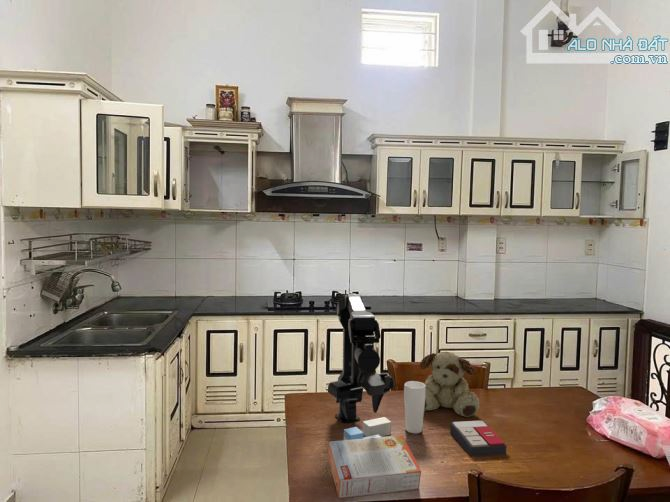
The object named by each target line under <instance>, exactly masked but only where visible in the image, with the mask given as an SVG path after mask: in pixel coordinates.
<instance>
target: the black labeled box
mask: <svg viewBox="0 0 670 502" xmlns="http://www.w3.org/2000/svg"><path fill="white" fill-rule="evenodd" d="M449 433H450V434H451V436H452V437H453V438H454V439H456V441H457V442H458V443H459V444H460V445H461V446H462V448H463V449H464V450H465V452H467V454H468V455H469V456H470V457H478V456H479V457H483V456H484V457H485V456H497V455H498V456H499V455H507V444H506V443H505V442H504V441H503V440H502V438H500V436H499V435H497V433H496V432H494V431H493V429H492V428H491V427H489V425H488V424H487V423H485V422H484V421H483V420H468V421H453V422H451V423H450V431H449Z"/></svg>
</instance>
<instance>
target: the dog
mask: <svg viewBox="0 0 670 502" xmlns="http://www.w3.org/2000/svg"><path fill="white" fill-rule="evenodd" d="M420 361H421V362H420V363H419V364H418V366H419V367H420V369H421V370H426V368H429V367H430V372H431V374H430V375H428V376H427V378H426V379H425V381H424V384H425V385H426V398H425V407H424V412H425V411H434V410H436V409H439V408H440V407H441V408H448V409H449V408H450V409H453V410H454V412H455V413H456V415H457V414H458V415H459V416H460V417H461V416H463V417H465V418H470V417H473V416H474V415H475V414H477V413H478V411H479V407H480V399H479V398H478V396H477V394H476V392H473V391H469V390H470V389H469V388H470V387H469V383H468V381H467V380H466V379H465V378H464V373H465V372H466V374H469V375H470V376H474V375H475V374H476V372H477V370H476V369H475V367H474V366H473V365H472V364H471V362H470V361H469V360H467V359H465V358H461V357H460V356H459V355H456V354H455V353H454V352H451V351H442V352H438V353H433V352H432V353H430V354H427V355H425V356H424V357H423V358H422V359H421V360H420Z"/></svg>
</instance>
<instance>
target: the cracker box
mask: <svg viewBox="0 0 670 502" xmlns="http://www.w3.org/2000/svg"><path fill="white" fill-rule="evenodd" d="M363 438H364V437H363ZM327 459H328V463H329V468H330V471H331V475H332V477H333V482H334V486H335V489H336V494H337V497H338V499H345V498H353V497H362V496H370V495H380V494H388V493H397V492H403V491H404V492H405V491H407V492H408V491H414V490H419V489H420V482H421V476H422V475H421V474H422V470H421V468H420V466H419V465H418V462H417V460H416V458H415V457H414V454H413V453H412V451H411V449H410V447H409V444H408V443H407V442H406V439H405V438H404V436H403V434H402V435H401V434H400V435H390V436H389V435H387V436H381V437H376V438H364V439H353V440H344V439H343V440H332V441H331V440H330V441H328V452H327Z"/></svg>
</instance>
